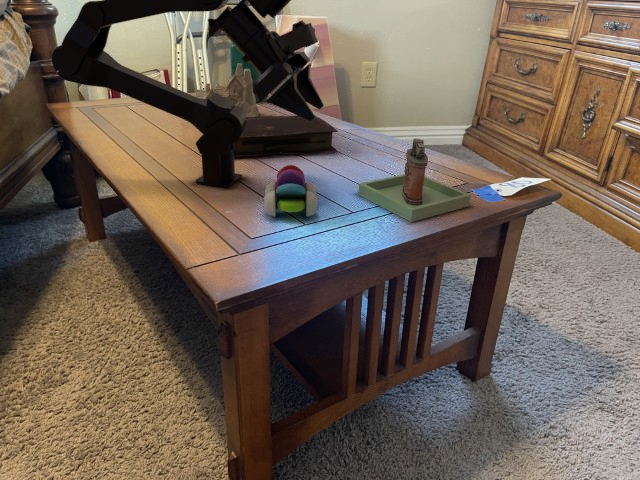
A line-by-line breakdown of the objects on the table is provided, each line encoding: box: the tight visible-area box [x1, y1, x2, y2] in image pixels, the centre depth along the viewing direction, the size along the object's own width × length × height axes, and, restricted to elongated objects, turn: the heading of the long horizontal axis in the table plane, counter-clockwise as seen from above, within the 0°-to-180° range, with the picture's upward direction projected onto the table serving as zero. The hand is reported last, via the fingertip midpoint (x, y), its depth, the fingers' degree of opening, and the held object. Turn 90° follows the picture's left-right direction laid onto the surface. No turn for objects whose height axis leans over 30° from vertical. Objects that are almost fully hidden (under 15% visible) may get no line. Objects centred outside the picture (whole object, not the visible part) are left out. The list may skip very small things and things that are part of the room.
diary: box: [233, 114, 339, 157], centre depth 115 cm, size 19×25×5 cm
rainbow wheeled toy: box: [263, 164, 319, 218], centre depth 81 cm, size 8×10×7 cm
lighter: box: [402, 138, 429, 206], centre depth 87 cm, size 8×3×10 cm, turn 178°
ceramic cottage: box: [194, 64, 260, 117], centre depth 136 cm, size 16×16×15 cm
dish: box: [357, 173, 472, 223], centre depth 89 cm, size 14×14×2 cm
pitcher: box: [229, 25, 267, 103], centre depth 156 cm, size 10×8×22 cm
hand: (317, 113), depth 86 cm, fingers open, 9 cm apart
